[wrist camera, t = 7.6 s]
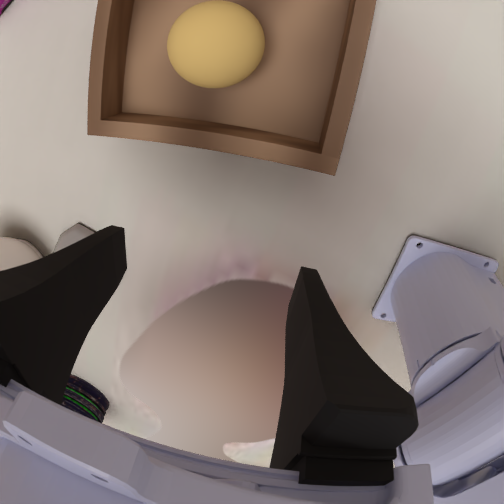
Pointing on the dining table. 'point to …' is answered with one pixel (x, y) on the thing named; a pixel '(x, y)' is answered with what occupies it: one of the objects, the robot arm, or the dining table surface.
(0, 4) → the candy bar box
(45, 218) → the dining table surface
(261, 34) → the ball
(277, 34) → the tray
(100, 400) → the storage jar
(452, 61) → the dining table surface
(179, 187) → the dining table surface
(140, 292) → the dining table surface
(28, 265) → the robot arm
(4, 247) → the lidded jar
